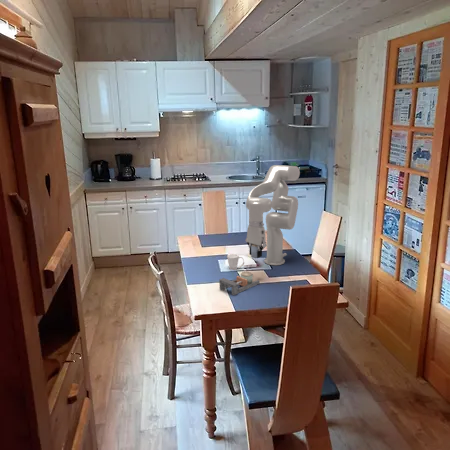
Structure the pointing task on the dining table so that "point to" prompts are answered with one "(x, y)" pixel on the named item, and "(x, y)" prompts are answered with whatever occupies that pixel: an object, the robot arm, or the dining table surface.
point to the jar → (254, 251)
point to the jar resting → (247, 276)
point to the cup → (233, 261)
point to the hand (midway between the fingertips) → (255, 255)
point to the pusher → (240, 281)
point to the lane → (235, 285)
